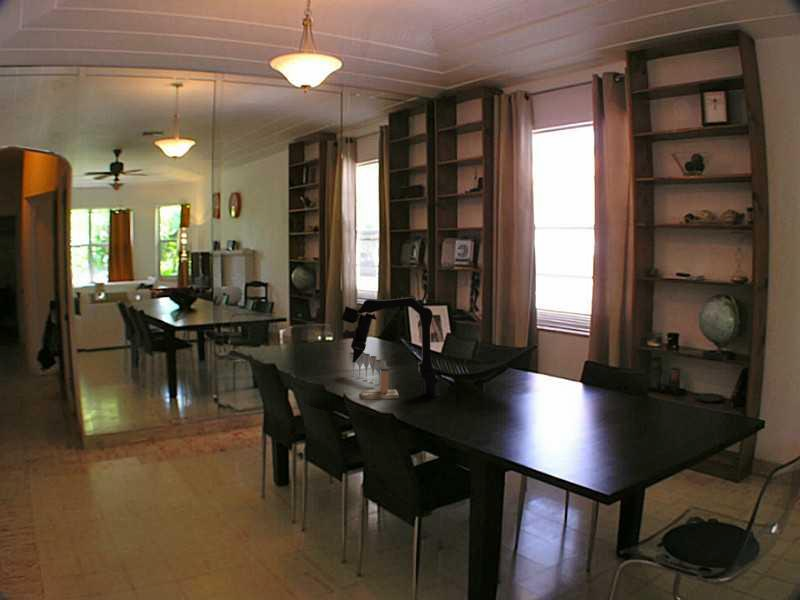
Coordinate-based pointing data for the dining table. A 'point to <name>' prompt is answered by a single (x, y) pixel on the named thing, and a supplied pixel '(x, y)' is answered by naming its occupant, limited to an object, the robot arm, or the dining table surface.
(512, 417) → the dining table surface
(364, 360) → the goblet set
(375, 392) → the fader console
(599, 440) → the dining table surface
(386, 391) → the fader tab
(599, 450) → the dining table surface
